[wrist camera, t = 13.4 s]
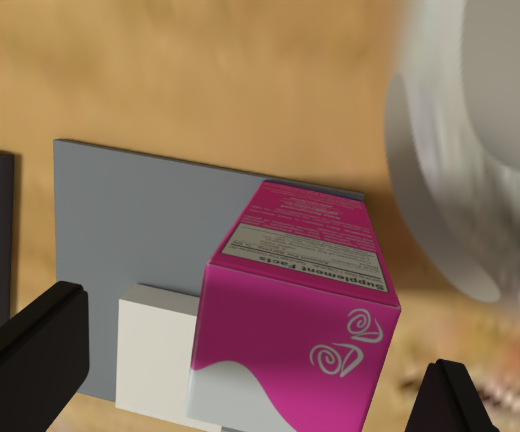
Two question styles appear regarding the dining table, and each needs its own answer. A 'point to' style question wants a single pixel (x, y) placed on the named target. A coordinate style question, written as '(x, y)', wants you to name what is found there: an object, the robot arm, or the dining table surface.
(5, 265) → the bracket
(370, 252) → the supplement box
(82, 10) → the dining table surface
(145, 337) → the tile
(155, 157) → the mat
